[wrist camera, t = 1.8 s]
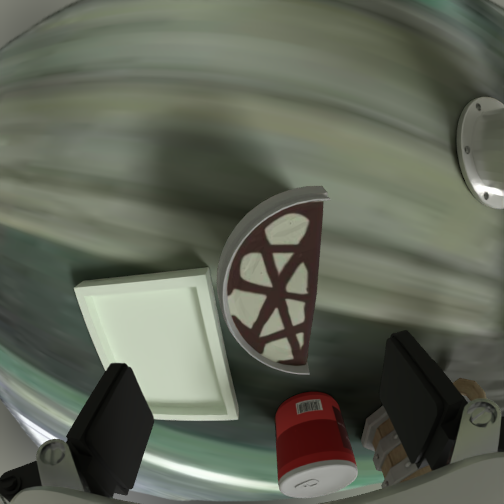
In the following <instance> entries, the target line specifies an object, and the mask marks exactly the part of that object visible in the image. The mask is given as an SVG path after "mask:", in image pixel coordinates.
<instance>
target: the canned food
mask: <svg viewBox="0 0 504 504" xmlns="http://www.w3.org/2000/svg"><path fill="white" fill-rule="evenodd" d="M275 432H276V451H277V470H278V485H279V490H280V491H281V492H282V493H283V494H285V495H287V496H290V497H296V498H310V497H311V498H312V497H319V496H323V495H327V494H330V493H333V492H336V491H338V490H340V489H342V488H344V487H346V486H348V485H349V484H350V483H352V482H353V481H354V480H355V478H356V477H357V474H358V472H357V465H356V462H355V458H354V454H353V451H352V447H351V444H350V441H349V437H348V434H347V431H346V428H345V424H344V421H343V418H342V415H341V411H340V408H339V405H338V403H337V402H336V401H335V400H334V399H333V398H332V397H331V396H330V395H328V394H326V393H322V392H305V393H301V394H298V395H295V396H293V397H291V398H289V399H287V400H286V401H285V402H283V403H282V404H281V405H280V406H279V408H278V410H277V413H276V416H275Z"/></svg>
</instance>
